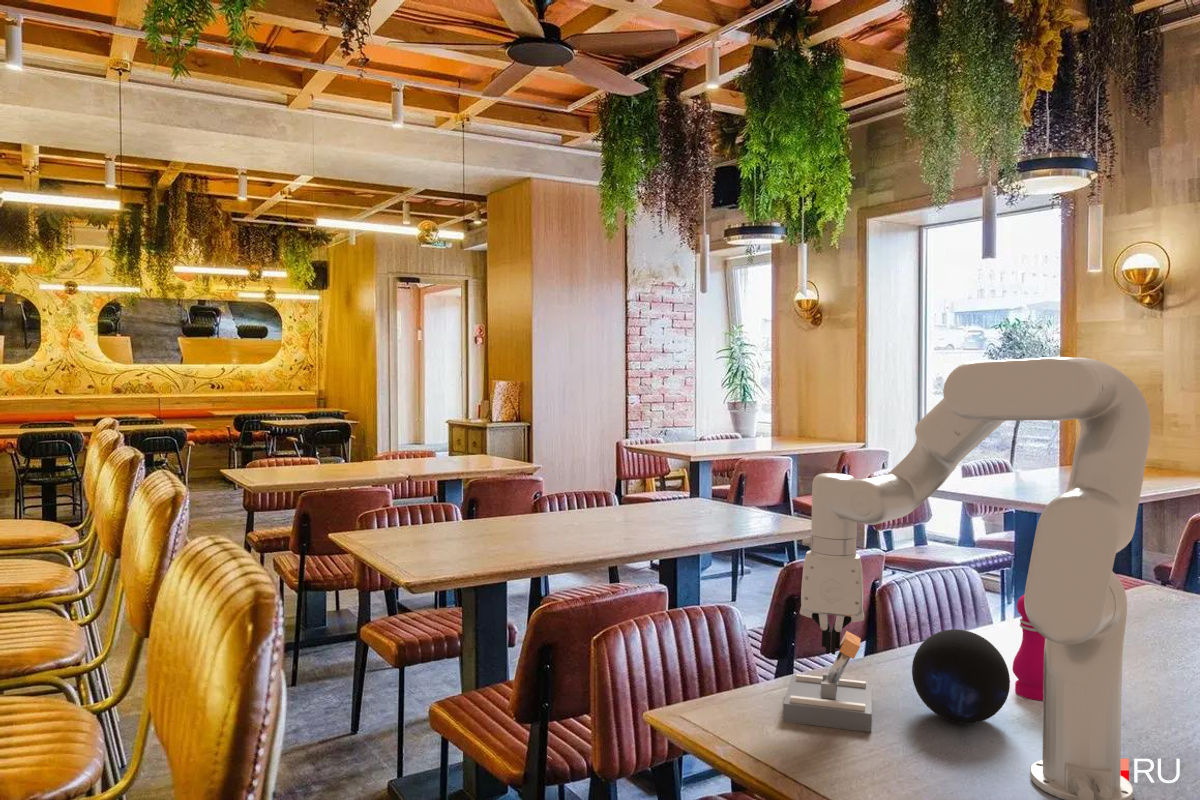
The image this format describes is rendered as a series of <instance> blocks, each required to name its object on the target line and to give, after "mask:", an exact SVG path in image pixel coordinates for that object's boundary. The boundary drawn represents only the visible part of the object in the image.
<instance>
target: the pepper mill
mask: <svg viewBox="0 0 1200 800" xmlns="http://www.w3.org/2000/svg"><path fill="white" fill-rule="evenodd" d="M1024 595H1025V593H1024V594H1022V595H1021V596H1020V597H1019V598H1018V600H1017V602H1016V609H1017V612H1018V614H1019V615H1020V616H1021V617H1020V618H1019V622H1020V623H1019V627H1020V628H1021V629H1022V638H1021V643H1020V647H1019V648H1018V651H1017V652H1016V655H1015V656H1014V658H1013V662H1012V672H1013V675H1015V677H1016V678H1017V680H1016V681H1015V684H1014V685H1015V686H1014V691H1015V694H1017V695H1018V696H1019V697H1022V698H1025V699H1028V700H1033V701H1042V702H1043V678H1044V648H1045V637H1043V636H1042V635H1041V634H1040V633H1038V632H1037V631H1036V630H1035V628H1034V627H1033V626H1032V624H1031V623H1030V621H1029V619H1028V617H1027V614H1026V611H1025V605H1024Z"/></svg>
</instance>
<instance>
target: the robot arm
mask: <svg viewBox="0 0 1200 800" xmlns="http://www.w3.org/2000/svg"><path fill="white" fill-rule="evenodd" d="M943 385H944V386H943V389H942V390H943V398H942V399H941V400H940V401H939V402H938V403H937V404H935V406H934V407H933V408H932V409H931V410H930V411H929V412H928V413H926V414H925V416H923V417H922V418H921V419H920V420H919V421H918V422H917V423H916V425H915V428H914V431H915V437H916V439H915V443H914V445H913V447H912V448H911V450H910V451H909V453H908V454H906V456H905V457H904V458H903V459H902V460H901V461H899V462H898V464H896V465H895V466H894V467H893V468H892V469H891V470H890V471H889V472H888V473H887V474H884V475H878V476H872V477H867V478H859V479H856V477H854V476H853V475H850V474H847V473H846V474H845V473H839V472H838V473H837V472H828V473H827V472H825V473H823V472H822V473H819V474H817V475H815V477H814V478H813V479H812V485H811V486H812V488H811V489H812V490H811V529H810V530H811V533H810V535H809V536H803V537H802V542H801V543H802V545H803V546H807V547H808V548H809V550H807V552H806V553H805V557H804V561H803V567H802V568H803V569H802V576H801V578H802V579H801V591H800V592H801V594H800V604H801V606H800V610H799V614H800V616H804V617H806V618H810V619H813V621H815V623H816V624H817V625H818V626H819V627H820V629H821V647H822V648H825V654H827V655H829V654H831V655H833V656H835V655H836V653H837V652H836V650H837V649H840V643H841V632H842V630H843V629H844V628H845V627H846V626H849V624H851V623H858V622H863V621H864V620H865V614H864V608H863V607H864V574H863V573H864V571H863V565H862V559H861V556H860V554H858V553H857V535H858V534H857V531H858V523H859V524H861V525H862V524H863V525H868V526H874V525H879V524H883V523H886V522H889V521H894V520H897V519H901V518H903V517H906V516H908V515H909V514H911V513H912V512H913V511H915V510H916V509H917V508H918V507H920V506H921V505H922V504H923V503H924V502H925V501H926V500H927V499H928V498H930V497H931V496H932V495H933V494H934V493H935V492H937V490H938V489H939V488H940V487H941V486H942V485H943V484H944V483H945V482H946V480H947V479H948V478H949V477H950V475H952V473H953V472H954V471H955V469H956V468H957V466H958V465H959V463H960V462H961V461H962V460H964V458H966V457H967V456H968V455H969V454H970V453H971V452H972V451H973V450H975V449H976V448H977V446H979V445H980V444H981V443H982V442H983V441H984V440H985V439H987V437H989V436H990V435H991V434H992V433H993V432H994V431H995V430H997V428H999V427H1000V426H1001V425H1002V424H1003V423H1004V422H1005V421H1009V422H1012V421H1015V422H1016V421H1017V422H1018V421H1019V422H1020V421H1021V422H1023V421H1071V420H1077V421H1079V425H1080V431H1079V432H1080V433H1079V436H1078V440H1077V442H1076V446H1075V448H1074V452H1073V457H1072V464H1071V465H1072V466H1071V471H1070V476H1069V481H1068V483H1067V488H1066V491H1065V492H1064V493H1062V494H1060V495H1058V496H1056V497H1055V498H1053V499H1051V501H1050V502H1049V503H1047V505H1046V506H1045V507H1044V509H1043V510H1042V512H1041V514H1040V516H1039V518H1038V519H1039V520H1038V522H1037V525H1036V529H1035V532H1034V533H1035V534H1034V539H1033V545H1032V549H1031V555H1030V561H1029V566H1028V572H1027V577H1026V583H1025V588H1024V594H1025V595H1024V594H1023V595H1024V605H1025V611H1026V614H1027V617H1028V619H1029V621H1030V623H1031V624H1032V626H1033V627H1034V628H1035V630H1036V631H1037V632H1038V633H1040V634H1041V635H1042V636H1043V637H1045V648H1044V678H1043V701H1042V702H1043V703H1042V759H1040V760H1037V761H1036V762H1034V763H1033V764H1031V765H1030V770H1029V775H1030V780H1031V781H1032V783H1034V784H1035V785H1036V786H1037V787H1038V788H1039V789H1040V790H1042V791H1044V792H1046V793H1048V794H1049V795H1051V796H1054V797H1056V798H1058V799H1061V800H1133V799H1134V790H1135V789H1134V787H1133V785H1132V784H1131V782H1130V781H1129V780H1128V779H1127V778H1125V777H1124V776H1122V775H1121V768H1122V767H1121V764H1122V763H1121V761H1122V760H1121V759H1122V757H1121V756H1122V752H1121V751H1122V750H1121V749H1122V699H1123V698H1122V695H1123V694H1122V690H1123V656H1124V641H1125V633H1126V625H1127V617H1128V615H1127V614H1128V600H1127V599H1128V598H1127V594H1126V589H1125V587H1124V585H1123V583H1122V581H1121V580H1120V578H1119V577H1118V576H1117V574H1116V573H1115V572H1114V571H1113V568H1114V564H1115V559H1116V555H1117V553H1119V552H1121V551H1122V550H1124V549H1125V548H1126V547H1128V544H1129V543H1130V542H1131V541H1132V539H1133V537H1134V534H1135V531H1136V525H1137V524H1136V523H1137V517H1138V509H1139V505H1140V499H1141V493H1142V488H1143V481H1144V475H1145V470H1146V469H1145V468H1146V464H1147V463H1146V462H1147V457H1148V451H1149V445H1150V439H1151V426H1152V425H1151V424H1152V423H1151V414H1150V410H1149V407H1148V403H1147V400H1146V399H1145V397H1144V395H1143V393H1142V391H1141V390H1140V388H1139V387H1138V386H1137V384H1136V383H1135V382H1134V381H1133V380H1131V378H1130V377H1129V376H1127V375H1125V373H1123V372H1122V371H1120V370H1119V369H1117V368H1116V367H1114V366H1112V365H1110V364H1108V363H1106V362H1103V361H1100V360H1097V359H1094V358H1088V357H1071V356H1052V357H1038V358H1022V359H1021V358H1019V359H1006V360H1001V359H1000V360H971V361H967V362H965V363H962V364H960V365H958V366H957V367H956V368H954V369H953V370H952V371H951V372H950V373H949V375H948V376H947V377H946V380H945V382H944V384H943ZM828 615H832V616H833V615H834V616H836V617H835V622H834V623H833V624H832V625H833V626H832V627H831V624H830V622H829V617H828Z"/></svg>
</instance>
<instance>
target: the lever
mask: <svg viewBox="0 0 1200 800" xmlns="http://www.w3.org/2000/svg"><path fill="white" fill-rule="evenodd" d="M861 640H862V639H861V637H859V636H858V635H855V634H853V633H851V632H850V631H848V630H845V633H844V635H843V637H842V639H841V640H840V649H839V652H838V654H837V656H836V658H835V659H834V661H833V664H832V666H831V668H830V670H829V672H828V675H827V677H826V678H825V680H824V682H830V683H836V684H837V683H838V681H839V679H841V677H842V676H843V673H844V672H845V669H846V667H847V665H848V663H849V662H850V659H853V660H855V657H856V656H857V654H858V651H859V650H860V649H861Z"/></svg>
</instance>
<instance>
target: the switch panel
mask: <svg viewBox="0 0 1200 800" xmlns="http://www.w3.org/2000/svg"><path fill="white" fill-rule="evenodd" d="M828 673H829V672H828ZM828 673H827V672H822V676H817V675H809V674H800V673H797V674H796V675H795V676H794V675H791V677H790V681H789V684H788V687H787V689H786V690H787V691H786V695H785V697H784V701H783V705H782V706H783V708H782V709H783V713H782V714H783V716H782V717H783V718H782V719H783V720H782V722H786V723H794V724H801V725H802V724H803V725H808V726H809V725H810V726H816V727H817V726H818V727H825V728H832V729H833V728H834V729H842V730H849V731H857V732H867V733H872V723H873V722H872V721H873V718H872V717H873V714H872V713H873V684H869V683H867V681H865V680H858V679H857V680H855V679H848V678H847V679H846V678H840V679H839V681H838V683H837V684H836V683H830V682H824V680H825V678H826V677H827V675H828Z"/></svg>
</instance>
